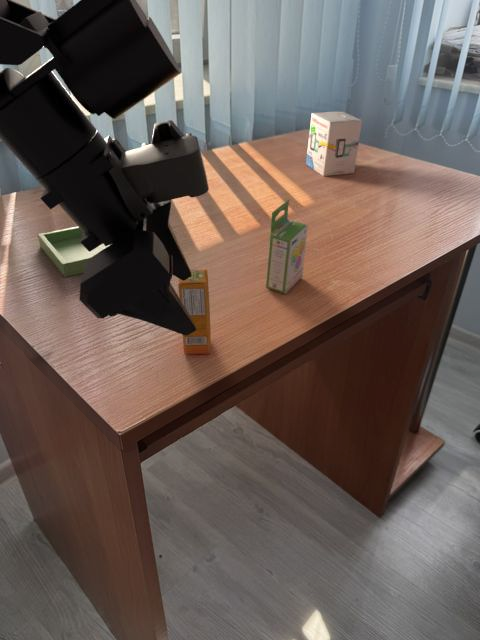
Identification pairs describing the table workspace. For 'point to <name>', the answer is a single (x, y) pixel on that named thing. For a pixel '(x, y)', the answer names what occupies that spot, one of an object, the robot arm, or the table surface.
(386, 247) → the table surface
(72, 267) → the green tray
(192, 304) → the supplement box
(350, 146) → the ink box
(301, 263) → the ink box
